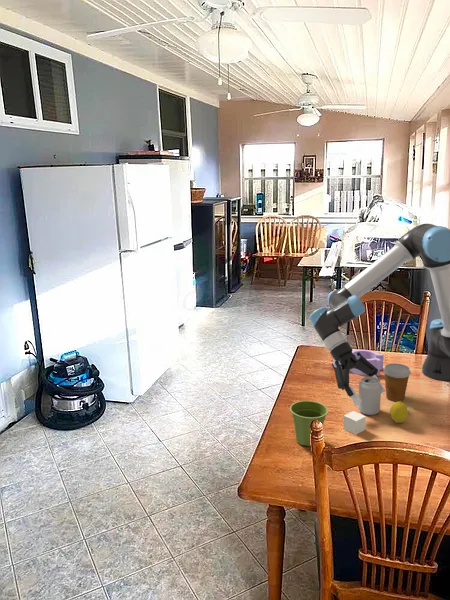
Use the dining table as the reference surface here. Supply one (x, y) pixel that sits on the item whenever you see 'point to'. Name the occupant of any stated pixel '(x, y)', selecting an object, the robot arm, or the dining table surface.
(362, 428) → the cream wooden block
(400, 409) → the lemon
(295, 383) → the dining table surface
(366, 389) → the can
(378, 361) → the clip
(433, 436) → the dining table surface
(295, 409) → the plant pot
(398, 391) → the disposable coffee cup
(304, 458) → the dining table surface
